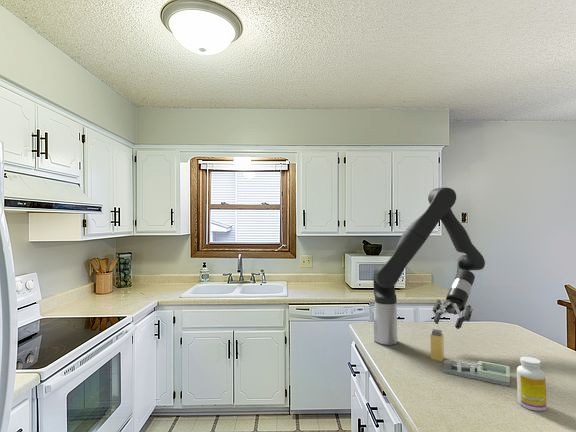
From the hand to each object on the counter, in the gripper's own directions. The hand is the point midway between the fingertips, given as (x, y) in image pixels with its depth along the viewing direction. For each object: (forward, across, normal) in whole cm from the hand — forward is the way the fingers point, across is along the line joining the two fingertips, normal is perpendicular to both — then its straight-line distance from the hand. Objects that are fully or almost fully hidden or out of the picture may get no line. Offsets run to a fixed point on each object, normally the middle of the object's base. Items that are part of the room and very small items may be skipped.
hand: (446, 325), depth 132 cm
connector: (+13, 0, +3) cm, 13 cm away
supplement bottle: (+21, +34, -5) cm, 40 cm away
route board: (+15, +15, +1) cm, 21 cm away
